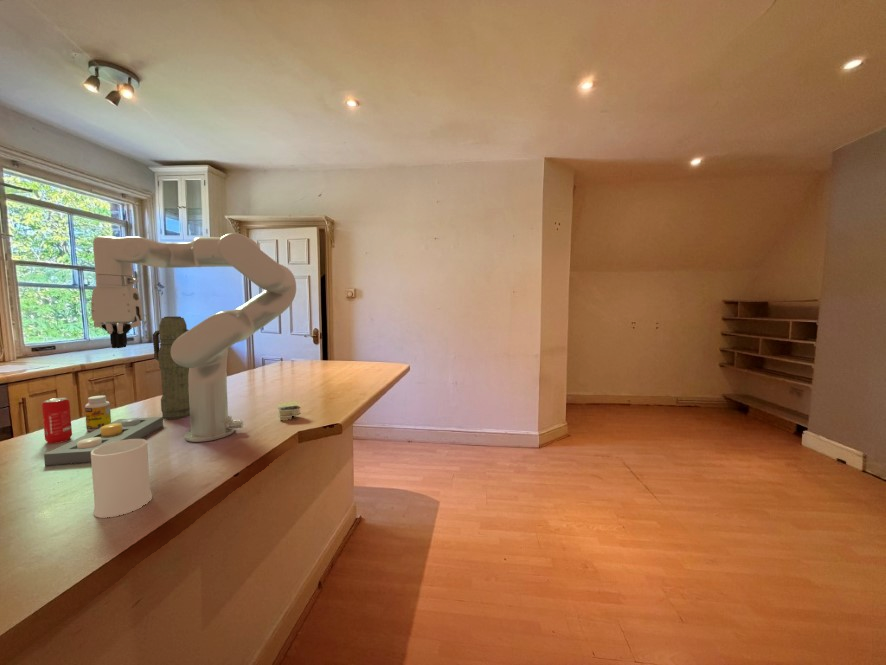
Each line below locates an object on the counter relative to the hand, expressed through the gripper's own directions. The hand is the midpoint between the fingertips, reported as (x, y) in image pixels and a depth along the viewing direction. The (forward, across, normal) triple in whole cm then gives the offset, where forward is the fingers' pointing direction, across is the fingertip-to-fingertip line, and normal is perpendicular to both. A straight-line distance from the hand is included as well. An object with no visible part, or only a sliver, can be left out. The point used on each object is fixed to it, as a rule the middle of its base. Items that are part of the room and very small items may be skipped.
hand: (119, 347), depth 98 cm
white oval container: (+27, -21, +36) cm, 50 cm away
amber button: (+25, +2, +2) cm, 26 cm away
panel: (+27, +2, +2) cm, 27 cm away
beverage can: (+27, +18, -3) cm, 33 cm away
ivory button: (+26, +2, +10) cm, 28 cm away
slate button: (+27, +2, -6) cm, 27 cm away
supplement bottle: (+27, +14, -12) cm, 33 cm away
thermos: (+27, -3, -22) cm, 35 cm away
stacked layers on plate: (+28, -42, -11) cm, 52 cm away
